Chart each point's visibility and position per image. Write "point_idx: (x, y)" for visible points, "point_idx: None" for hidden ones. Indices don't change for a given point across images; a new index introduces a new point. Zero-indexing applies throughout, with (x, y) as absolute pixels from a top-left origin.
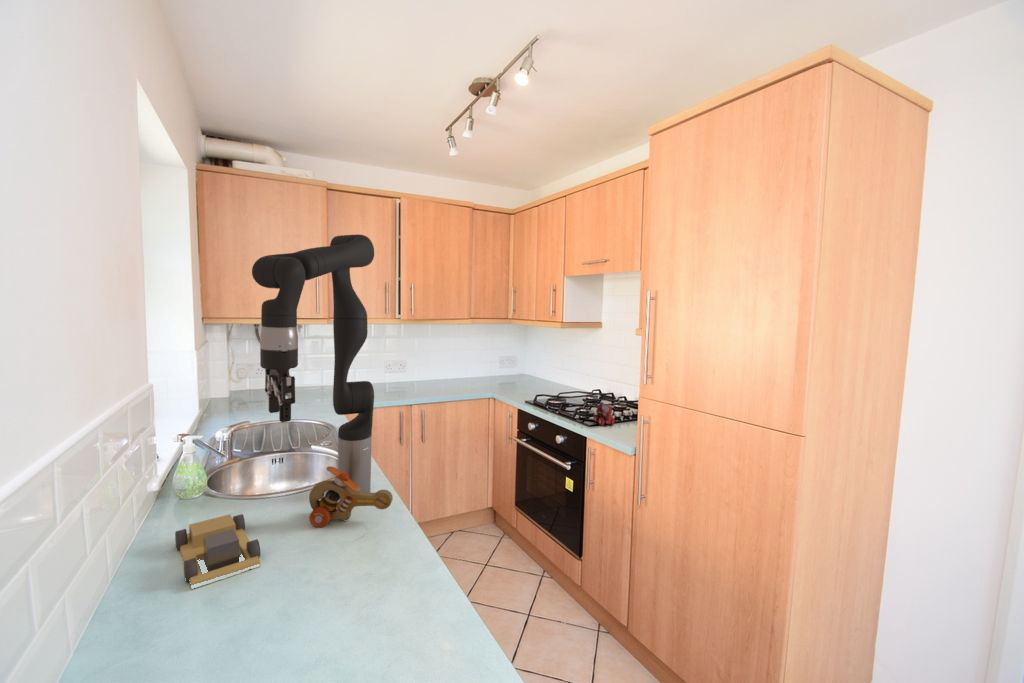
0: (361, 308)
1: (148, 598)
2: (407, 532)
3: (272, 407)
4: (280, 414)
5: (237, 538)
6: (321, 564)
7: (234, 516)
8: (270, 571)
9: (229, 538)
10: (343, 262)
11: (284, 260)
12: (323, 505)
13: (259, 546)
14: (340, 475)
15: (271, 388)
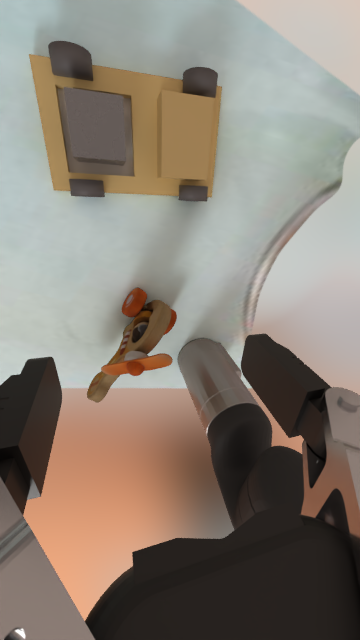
0: None
1: None
2: None
3: (261, 360)
4: (12, 391)
5: (79, 155)
6: (18, 269)
7: (200, 186)
8: (34, 200)
9: (88, 141)
10: None
11: None
12: (139, 315)
13: (73, 195)
14: (134, 365)
15: (338, 489)
